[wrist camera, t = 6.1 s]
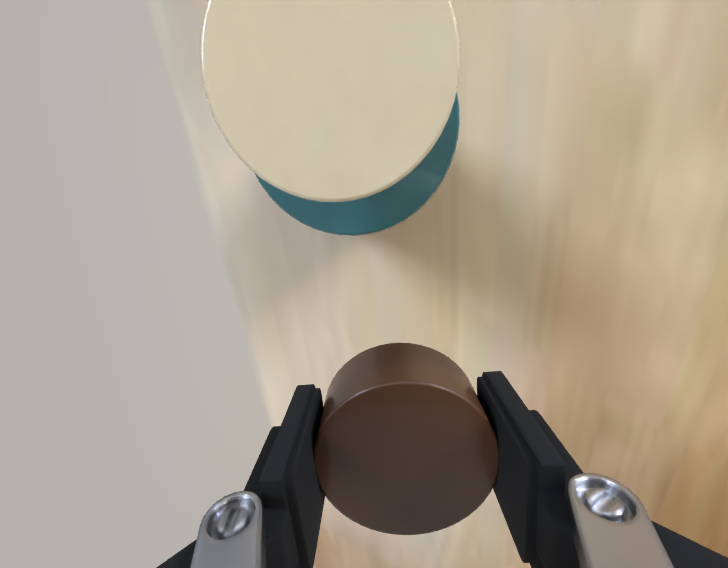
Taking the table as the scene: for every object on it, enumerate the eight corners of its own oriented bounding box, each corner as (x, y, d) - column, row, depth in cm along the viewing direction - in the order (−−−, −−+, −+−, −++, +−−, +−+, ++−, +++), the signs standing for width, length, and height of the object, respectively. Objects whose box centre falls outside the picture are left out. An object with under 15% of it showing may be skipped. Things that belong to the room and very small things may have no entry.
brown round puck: (399, 310, 11) (406, 343, 8) (507, 410, 11) (540, 464, 9) (294, 411, 12) (275, 464, 9) (400, 495, 13) (405, 563, 10)
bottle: (358, 66, 19) (308, -331, 5) (444, 157, 20) (616, 53, 6) (279, 162, 21) (58, 79, 6) (363, 242, 22) (341, 328, 7)
